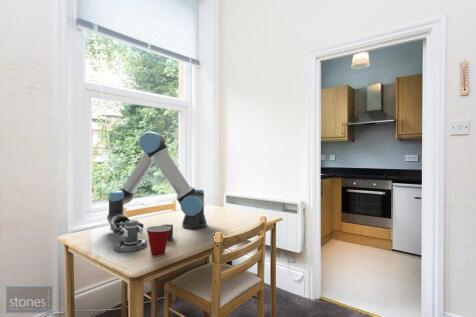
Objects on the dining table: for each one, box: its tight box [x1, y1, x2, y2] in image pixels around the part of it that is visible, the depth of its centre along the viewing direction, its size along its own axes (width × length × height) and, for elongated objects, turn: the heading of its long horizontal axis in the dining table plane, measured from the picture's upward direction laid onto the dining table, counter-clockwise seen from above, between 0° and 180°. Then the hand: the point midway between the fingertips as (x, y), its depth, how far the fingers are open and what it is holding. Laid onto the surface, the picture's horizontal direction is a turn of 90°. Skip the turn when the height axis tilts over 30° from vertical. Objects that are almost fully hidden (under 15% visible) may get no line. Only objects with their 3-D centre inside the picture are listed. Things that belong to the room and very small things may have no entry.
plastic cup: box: [145, 225, 171, 257], centre depth 117 cm, size 11×11×12 cm
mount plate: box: [113, 238, 148, 253], centre depth 125 cm, size 15×15×2 cm
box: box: [160, 224, 174, 242], centre depth 136 cm, size 6×6×7 cm
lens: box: [123, 219, 139, 246], centre depth 125 cm, size 6×6×11 cm
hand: (134, 232), depth 121 cm, fingers open, 6 cm apart
